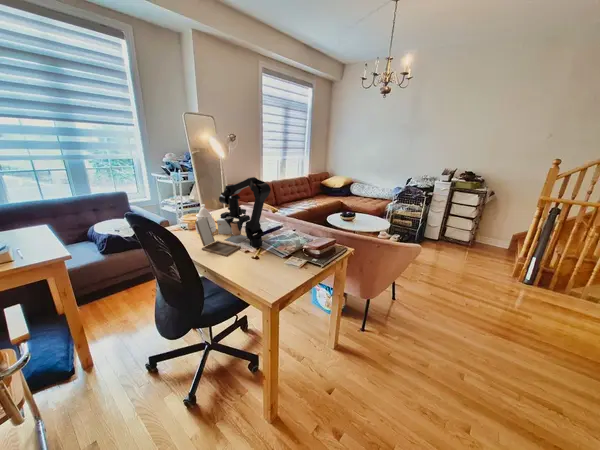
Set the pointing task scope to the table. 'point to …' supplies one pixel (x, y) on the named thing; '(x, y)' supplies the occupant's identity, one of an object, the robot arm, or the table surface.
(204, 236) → the propped lid
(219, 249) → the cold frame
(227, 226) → the small box
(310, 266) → the table surface
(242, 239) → the slate tile
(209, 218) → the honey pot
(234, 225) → the terracotta pot
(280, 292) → the table surface
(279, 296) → the table surface
